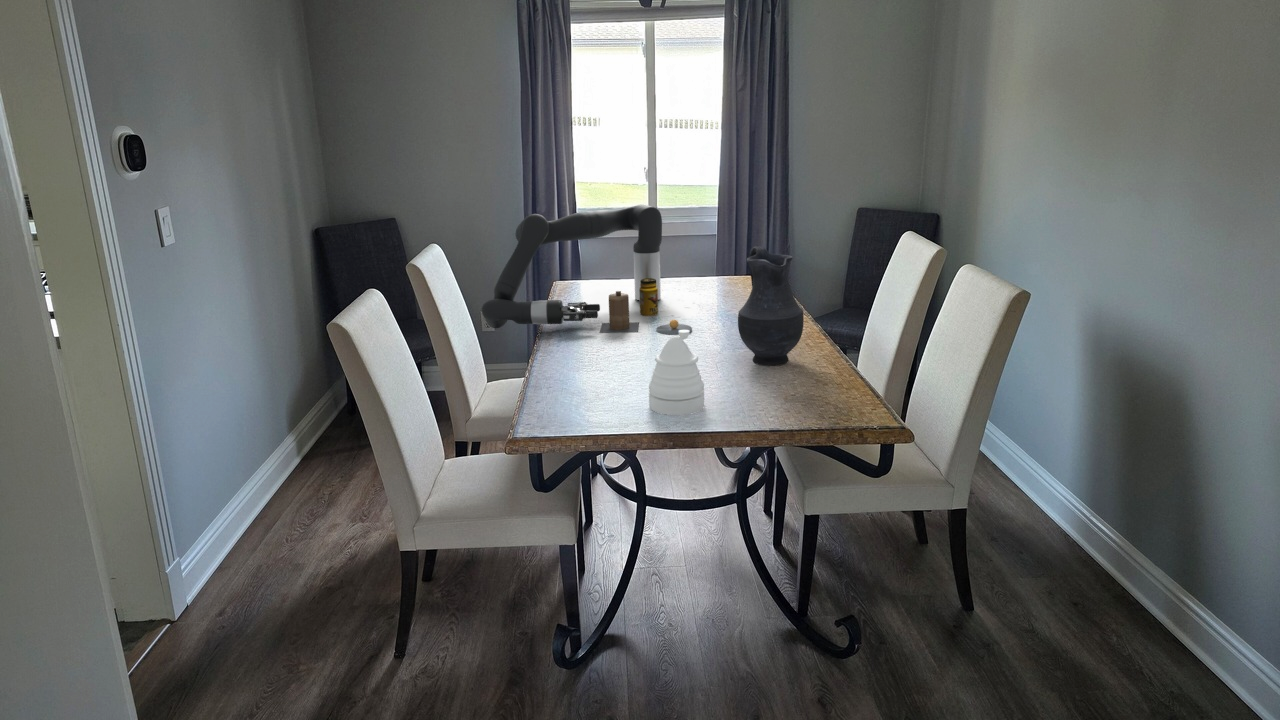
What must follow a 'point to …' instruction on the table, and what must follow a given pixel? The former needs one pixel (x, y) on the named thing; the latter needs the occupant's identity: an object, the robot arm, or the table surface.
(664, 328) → the grey round disc
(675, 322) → the ball
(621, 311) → the canister
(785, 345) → the pitcher
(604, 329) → the mat
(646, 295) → the condiment
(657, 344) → the table surface
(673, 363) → the honey pot
